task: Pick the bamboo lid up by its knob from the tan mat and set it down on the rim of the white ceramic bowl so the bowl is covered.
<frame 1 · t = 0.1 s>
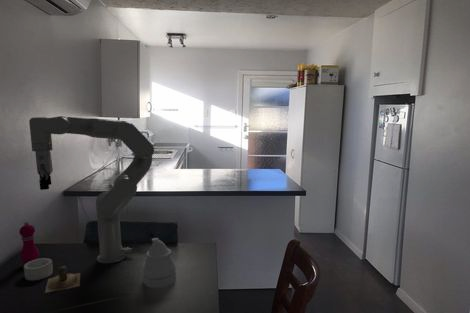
hand: (46, 187, 147), 37 cm above the table, tool pointing down, fingers open, 9 cm apart
mat: (63, 283, 139), on the table
honey pot: (160, 280, 140), on the table
bowl: (39, 275, 146), on the table
lid: (63, 282, 139), point 1 cm above the table, touching mat
pepper mill: (31, 264, 157), on the table
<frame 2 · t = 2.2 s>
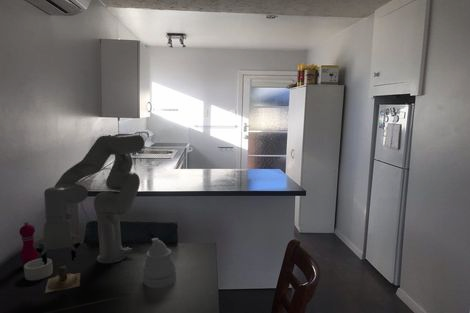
hand: (59, 261, 136), 10 cm above the table, tool pointing down, fingers open, 9 cm apart
nothing on the table moved.
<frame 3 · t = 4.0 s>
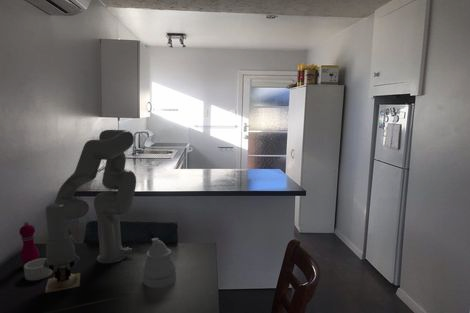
hand: (63, 278, 138), 2 cm above the table, tool pointing down, fingers closed on lid, 2 cm apart
lid: (63, 282, 139), point 1 cm above the table, touching gripper, mat
everything else where it was.
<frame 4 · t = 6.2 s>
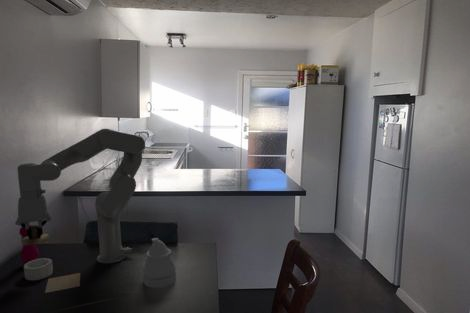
hand: (35, 236, 143), 17 cm above the table, tool pointing down, fingers closed on lid, 2 cm apart
lid: (35, 240, 143), point 16 cm above the table, touching gripper
everything else where it was.
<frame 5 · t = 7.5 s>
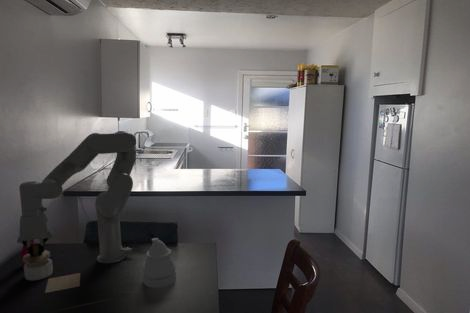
hand: (36, 254, 144), 10 cm above the table, tool pointing down, fingers closed on lid, 2 cm apart
lid: (36, 257, 145), point 8 cm above the table, touching gripper
everything else where it was.
when the fingers open (9 cm above the table, at t = 8.3 s): lid drops 2 cm, resting on bowl.
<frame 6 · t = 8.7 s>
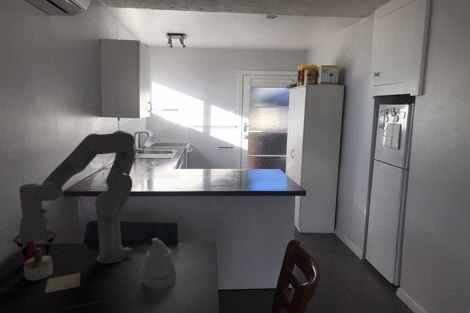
hand: (37, 254, 145), 9 cm above the table, tool pointing down, fingers open, 7 cm apart
lid: (38, 263, 145), point 5 cm above the table, touching bowl
everything else where it was.
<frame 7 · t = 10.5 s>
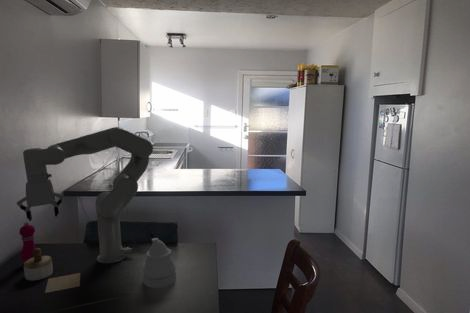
hand: (43, 217, 146), 24 cm above the table, tool pointing down, fingers open, 9 cm apart
nothing on the table moved.
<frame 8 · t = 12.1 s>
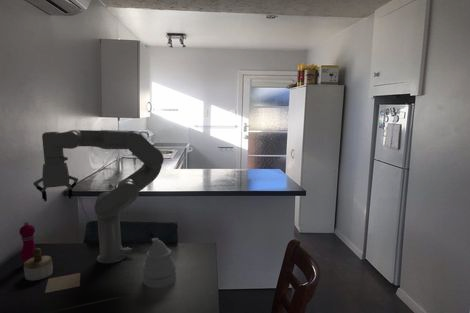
hand: (58, 199, 151), 30 cm above the table, tool pointing down, fingers open, 9 cm apart
nothing on the table moved.
at the end: lid 0.1 cm off-centre on the bowl, point 5.5 cm above the bowl's base; lid tilted 0°; the gripper is holding nothing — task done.
